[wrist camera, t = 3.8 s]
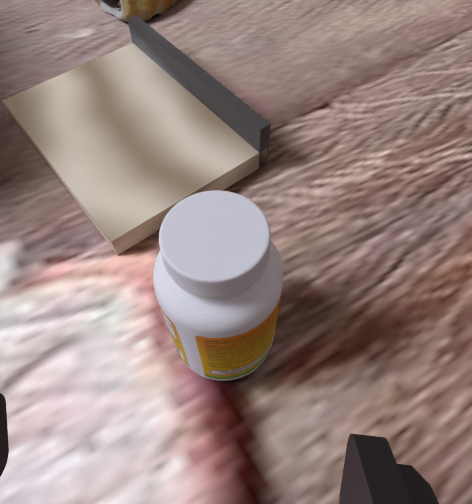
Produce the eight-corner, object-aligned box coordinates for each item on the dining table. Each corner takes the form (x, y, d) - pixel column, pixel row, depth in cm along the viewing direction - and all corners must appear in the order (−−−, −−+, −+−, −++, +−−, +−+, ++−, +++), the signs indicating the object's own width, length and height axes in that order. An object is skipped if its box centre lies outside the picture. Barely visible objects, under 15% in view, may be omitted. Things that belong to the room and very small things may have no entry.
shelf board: (147, 54, 37) (139, 13, 34) (270, 161, 30) (273, 121, 27) (11, 116, 33) (-12, 76, 30) (117, 255, 26) (101, 221, 23)
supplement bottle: (291, 316, 24) (316, 208, 16) (243, 403, 21) (243, 330, 13) (208, 274, 25) (192, 155, 17) (155, 350, 23) (106, 256, 15)
